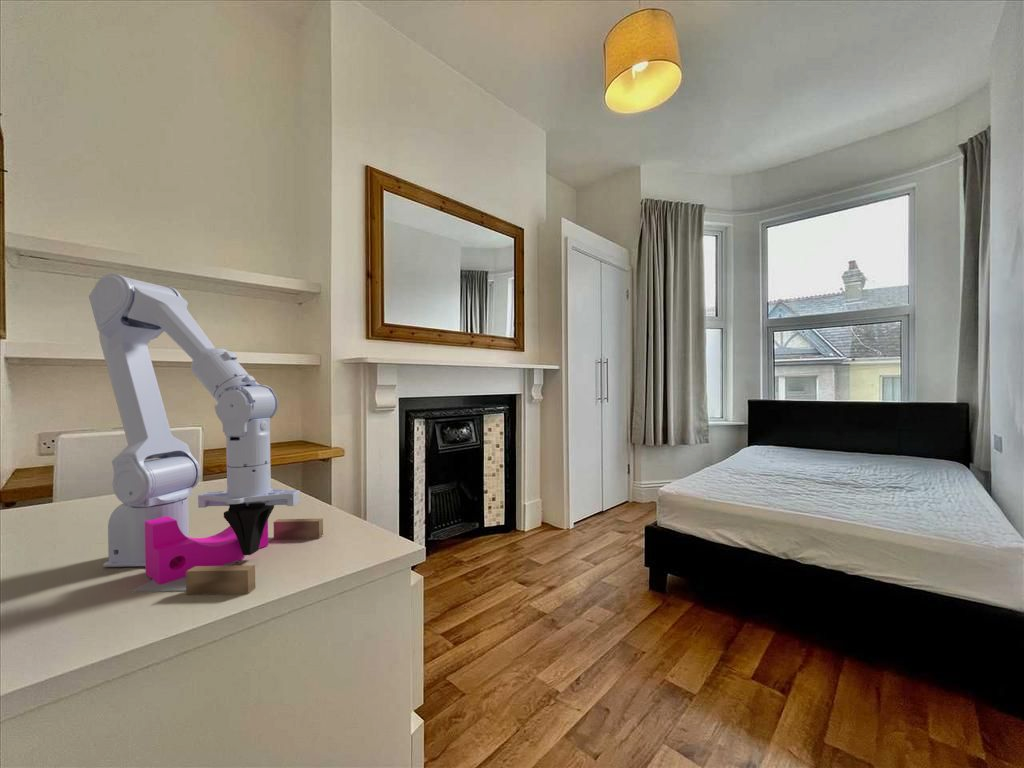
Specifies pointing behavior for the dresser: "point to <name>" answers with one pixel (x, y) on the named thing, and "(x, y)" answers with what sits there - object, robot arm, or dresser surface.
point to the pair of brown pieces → (244, 576)
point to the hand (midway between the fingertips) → (250, 552)
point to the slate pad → (170, 583)
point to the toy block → (187, 549)
